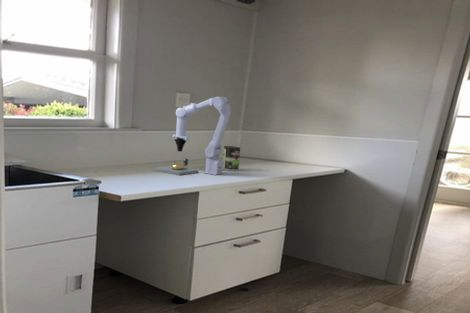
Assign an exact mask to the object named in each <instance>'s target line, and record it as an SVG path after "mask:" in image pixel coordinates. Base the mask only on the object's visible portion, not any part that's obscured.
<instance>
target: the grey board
mask: <svg viewBox="0 0 470 313" xmlns="http://www.w3.org/2000/svg"><path fill="white" fill-rule="evenodd" d="M152 171H155V172H158V173H159V172H160V173H165V174H170V175H176V176H185V175H192V174H198V173H199V169H194V168H188V167H183V169H182V170H176V169H172V165H166V166H157V167H153V168H152Z"/></svg>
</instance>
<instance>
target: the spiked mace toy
mask: <svg viewBox="0 0 470 313" xmlns="http://www.w3.org/2000/svg"><path fill="white" fill-rule="evenodd" d="M188 164H189V158H187V157H186V158H183V163H180V162H177V163H176V162H172V163H171V166H172V169H176V170H182V169H183V168H184V167H186V168H188Z"/></svg>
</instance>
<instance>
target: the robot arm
mask: <svg viewBox="0 0 470 313" xmlns="http://www.w3.org/2000/svg"><path fill="white" fill-rule="evenodd" d="M211 106H212V107H214V108H215V109H216V110H217V111H218V112H219V113H218V114H220V116H219V119H218V121H217V124H216V127H215V130H214V132H213V133H214V134H213V136H212V139H211V141H210V142H209V143H208V146H207V147H206V148H205V150H204V154H205V156H206V159H205V171H202V173H203V174H208V175H215V176H217V175H223V174H224V172H223V170H224V169H223V159H221V158H220V155H221V154H222V153H221V152H222V140H223V138H224V135H225V132H226V130H227V126H228V124H229V120H230V118H231V114H232V112H231V107H230V106H231V102H230V100H229V99H228V98H227V97H226V96H215V97H211V98H208V99H207V100H204V101H202V102H199V103H195V102H190V103H189V104H188V105H183V107H178V108H176V110H175V116H176V125H175V126H176V127H175V131H176V132H175V134H172V139H174V142H175V144H176V149H177V151H178V152H183V148H184V146H185V143H187V141H189V140H190V137H189V136H188V135H187V120H188V117H189V116H191V115H194V114H197V113H199V110H201V109H206V108H207V107H211Z"/></svg>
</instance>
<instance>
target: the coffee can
mask: <svg viewBox="0 0 470 313" xmlns="http://www.w3.org/2000/svg"><path fill="white" fill-rule="evenodd" d="M240 155H241V147H239V146H232V145H231V146H230V145H225V146H223V158H222V161H223V170H224V171H231V172H232V171H233V172H234V171H239V167H240Z"/></svg>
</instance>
